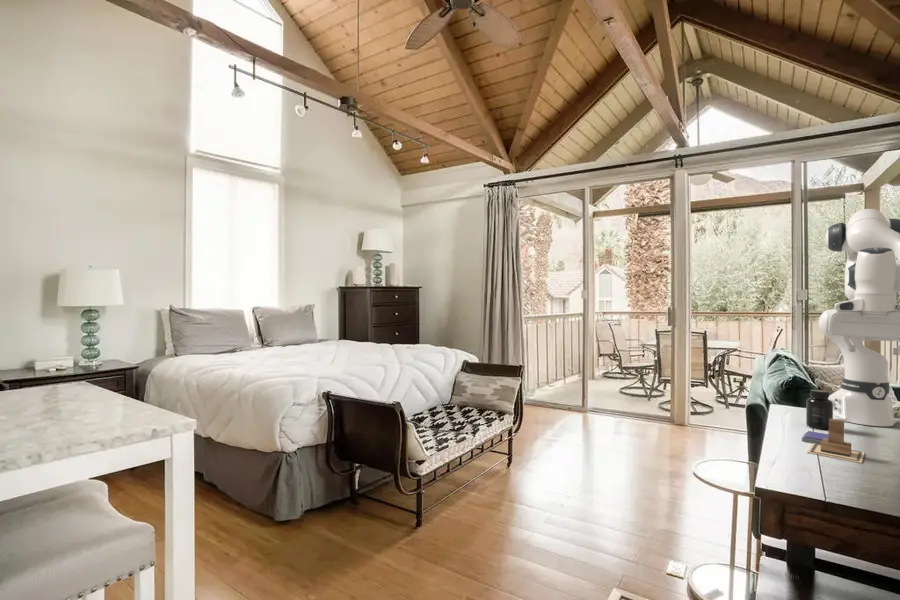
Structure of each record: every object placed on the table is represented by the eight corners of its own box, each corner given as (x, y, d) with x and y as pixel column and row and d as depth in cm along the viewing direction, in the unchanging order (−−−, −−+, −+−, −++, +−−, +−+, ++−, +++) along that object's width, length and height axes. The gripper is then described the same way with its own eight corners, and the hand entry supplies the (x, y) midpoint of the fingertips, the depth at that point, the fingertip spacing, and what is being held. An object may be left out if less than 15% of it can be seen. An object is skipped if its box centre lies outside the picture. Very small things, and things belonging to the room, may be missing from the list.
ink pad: (806, 435, 142) (806, 430, 142) (842, 441, 136) (842, 436, 136) (801, 441, 136) (801, 436, 136) (839, 448, 130) (839, 442, 130)
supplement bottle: (838, 429, 149) (838, 392, 149) (821, 431, 147) (822, 393, 147) (816, 424, 155) (817, 388, 155) (800, 425, 154) (801, 389, 154)
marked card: (813, 444, 133) (813, 442, 133) (864, 453, 125) (864, 451, 125) (807, 452, 125) (807, 451, 125) (861, 463, 118) (861, 461, 118)
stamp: (822, 447, 129) (823, 416, 129) (851, 452, 125) (851, 420, 125) (820, 451, 126) (821, 419, 126) (849, 457, 122) (850, 424, 122)
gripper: (926, 305, 127) (925, 355, 127) (830, 303, 141) (829, 348, 142) (927, 306, 122) (926, 358, 123) (827, 304, 137) (827, 351, 137)
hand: (873, 353), depth 132 cm, fingers open, 8 cm apart
